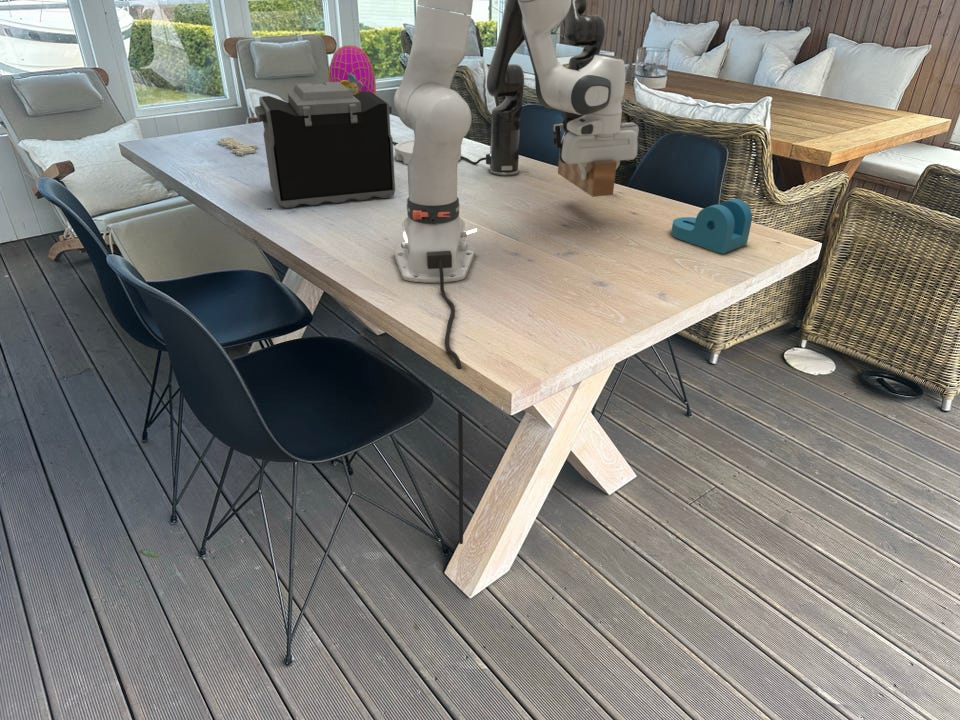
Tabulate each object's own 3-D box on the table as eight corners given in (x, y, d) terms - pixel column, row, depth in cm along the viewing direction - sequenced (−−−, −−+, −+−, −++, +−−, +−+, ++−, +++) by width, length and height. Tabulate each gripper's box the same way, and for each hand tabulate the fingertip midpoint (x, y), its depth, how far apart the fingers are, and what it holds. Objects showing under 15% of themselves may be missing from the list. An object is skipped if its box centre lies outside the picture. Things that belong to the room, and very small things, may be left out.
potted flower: (342, 144, 260) (336, 73, 247) (351, 139, 266) (346, 70, 254) (365, 146, 257) (360, 74, 245) (374, 141, 264) (369, 71, 251)
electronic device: (382, 177, 221) (376, 78, 206) (401, 197, 203) (396, 90, 188) (265, 188, 209) (249, 84, 194) (274, 210, 192) (257, 97, 176)
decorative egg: (362, 116, 305) (357, 42, 290) (386, 123, 292) (382, 46, 277) (324, 121, 294) (316, 45, 279) (347, 129, 281) (340, 49, 266)
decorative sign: (265, 149, 247) (238, 153, 242) (266, 152, 248) (239, 156, 243) (238, 135, 265) (212, 139, 260) (239, 138, 266) (213, 141, 260)
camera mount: (746, 244, 173) (755, 203, 168) (722, 254, 167) (730, 212, 162) (687, 225, 185) (693, 186, 180) (662, 233, 179) (668, 194, 174)
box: (613, 195, 180) (616, 162, 175) (592, 196, 178) (595, 163, 174) (576, 171, 198) (579, 141, 194) (557, 173, 196) (559, 142, 192)
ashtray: (454, 167, 232) (454, 155, 230) (388, 164, 235) (387, 152, 233) (466, 151, 252) (466, 140, 250) (404, 148, 255) (404, 137, 253)
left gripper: (633, 119, 179) (627, 172, 186) (561, 123, 173) (557, 178, 180) (645, 124, 173) (638, 178, 180) (571, 128, 168) (567, 184, 175)
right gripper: (597, 94, 188) (591, 156, 197) (549, 97, 184) (545, 160, 193) (610, 99, 182) (603, 163, 191) (560, 102, 178) (555, 167, 187)
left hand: (597, 178), depth 180 cm, fingers closed on box, 6 cm apart
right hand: (574, 161), depth 192 cm, fingers closed on box, 6 cm apart
